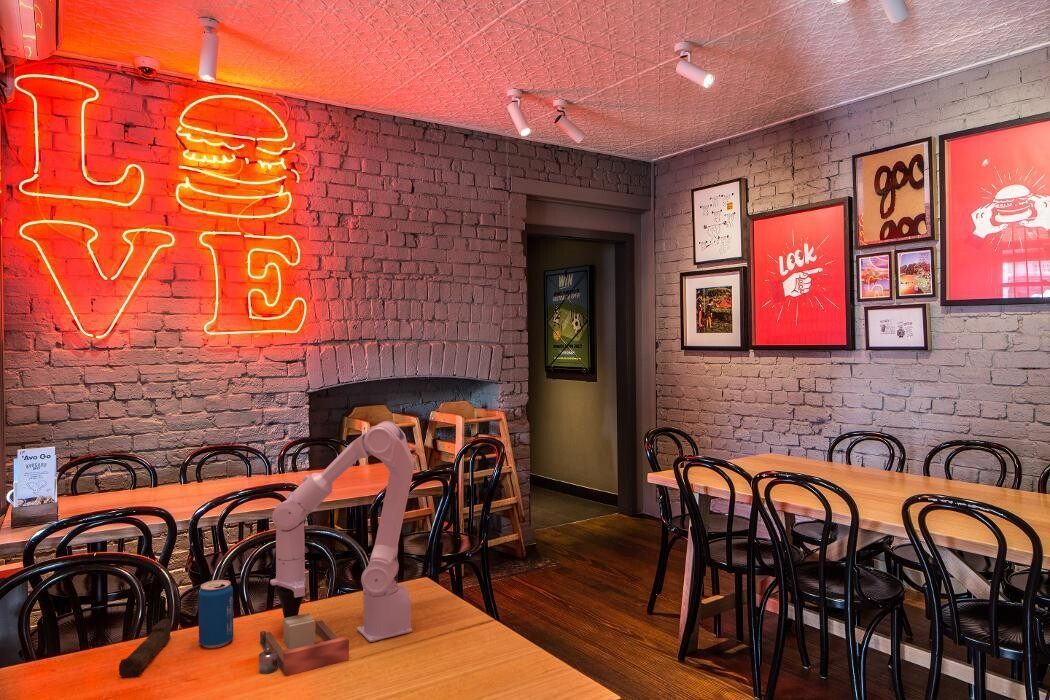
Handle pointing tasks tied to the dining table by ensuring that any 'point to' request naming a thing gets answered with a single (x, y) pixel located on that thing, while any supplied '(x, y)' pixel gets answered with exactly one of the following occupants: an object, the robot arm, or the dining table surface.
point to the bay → (311, 651)
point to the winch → (267, 656)
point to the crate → (298, 631)
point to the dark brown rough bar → (146, 650)
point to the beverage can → (215, 613)
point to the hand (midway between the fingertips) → (290, 621)
